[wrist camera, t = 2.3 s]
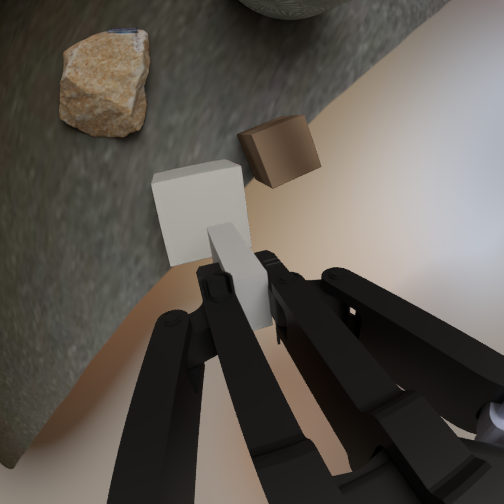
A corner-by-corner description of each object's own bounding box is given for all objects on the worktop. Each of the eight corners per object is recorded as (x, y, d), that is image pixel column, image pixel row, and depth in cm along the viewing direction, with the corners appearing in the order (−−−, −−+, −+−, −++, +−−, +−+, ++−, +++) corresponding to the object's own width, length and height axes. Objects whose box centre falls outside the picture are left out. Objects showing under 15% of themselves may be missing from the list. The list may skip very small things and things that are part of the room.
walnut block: (255, 179, 29) (273, 188, 24) (236, 134, 26) (251, 134, 22) (297, 160, 29) (321, 166, 25) (281, 116, 27) (303, 114, 23)
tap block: (168, 240, 29) (170, 266, 23) (154, 173, 26) (151, 184, 20) (235, 225, 30) (251, 247, 25) (225, 159, 27) (241, 165, 22)
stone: (156, 34, 20) (155, 17, 16) (143, 136, 24) (139, 136, 20) (73, 39, 18) (60, 26, 14) (61, 140, 22) (44, 143, 18)
